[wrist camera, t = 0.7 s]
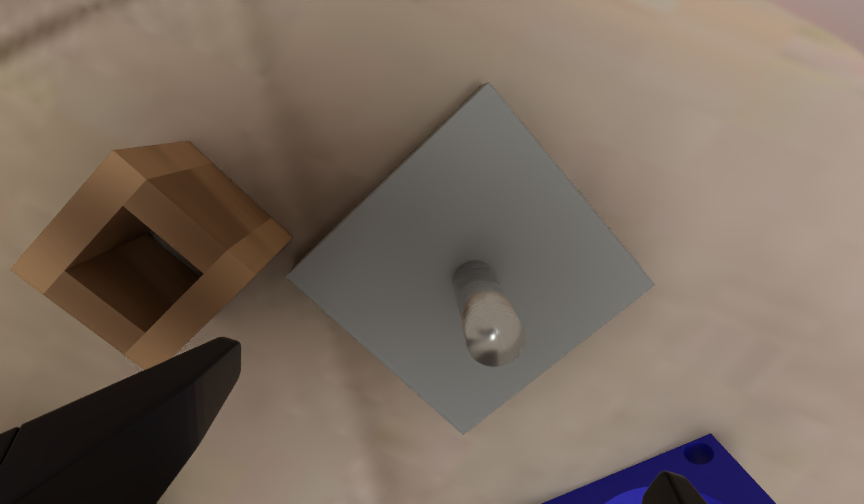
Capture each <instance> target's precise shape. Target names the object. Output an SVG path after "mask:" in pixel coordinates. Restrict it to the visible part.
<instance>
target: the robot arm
mask: <svg viewBox="0 0 864 504" xmlns="http://www.w3.org/2000/svg"><path fill="white" fill-rule="evenodd" d="M240 371H241V344H240V342H238V341H236V340H233V339H230V338H226V337H218V338H216V339H214V340H211V341H209V342H207V343H205V344H202V345H200V346H198V347H196V348H193V349H191V350H189V351H187V352H184V353H182V354H180V355H177V356H175V357H173V358H171V359H168V360H166V361H164V362H162V363H159V364H157V365H155V366H153V367H150V368H148V369H146V370H144V371H141V372H139V373H137V374H135V375H132V376H130V377H128V378H126V379H123V380H121V381H119V382H117V383H114V384H112V385H110V386H108V387H105V388H103V389H101V390H99V391H96V392H94V393H92V394H89V395H87V396H85V397H83V398H80V399H78V400H76V401H74V402H71V403H69V404H67V405H65V406H62V407H60V408H58V409H56V410H53V411H51V412H49V413H47V414H44V415H42V416H40V417H38V418H35V419H33V420H31V421H29V422H26V423H24V424H22V425H21V427H20V428H19V427H15V428H12V429H10V430H8V431H6V432H3V433H1V434H0V504H157V502H158V500H159V499H160V498H161V496H162V495H163V494H164V492H165V491H166V489H167V488H168V487H169V485H170V484H171V483H172V481H173V480H174V479H175V477H176V476H177V475H178V473H179V472H180V470H181V469H182V468H183V466H184V465H185V464H186V462H187V461H188V460H189V458H190V457H191V456H192V454H193V453H194V451H195V450H196V448H197V447H198V446H199V444H200V442H201V441H202V439H203V438H204V436H205V434H206V433H207V431H208V429H209V428H210V426H211V424H212V422H213V421H214V419H215V417H216V416H217V414H218V412H219V411H220V409H221V407H222V406H223V404H224V402H225V400H226V399H227V397H228V395H229V394H230V392H231V390H232V389H233V387H234V385H235V384H236V382H237V380H238V378H239V375H240ZM642 504H708V503H707V502H706V501H705V500H704V498H703V497H702V496H701V495H700V494H699V492H698V491H697V490H696V489H695V488H694V486H693V485H692V484H691V483H690V482H689V480H688V479H687V478H685V477H684V476H682V475H679V474H676V473H673V472H669V471H662V472H660V473H659V474H658V475H657V477H656V478H655V479H654V481H653V482H652V483H651V485H650V486H649V487H648V489H647V490H646V491H645V493H644V495H643V498H642Z"/></svg>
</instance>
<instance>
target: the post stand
mask: <svg viewBox="0 0 864 504" xmlns="http://www.w3.org/2000/svg"><path fill="white" fill-rule="evenodd" d="M286 278H287V279H288V280H289V281H291V282H292V283H293V284H294V285H295V286H296V287H297V288H298V289H300V290H301V291H302V292H303V293H304V294H305V295H306V296H307V297H309V298H310V299H311V300H312V301H313V302H314V303H315V304H316V305H318V306H319V307H320V308H321V309H322V310H323V311H324V312H325V313H327V314H328V315H329V316H330V317H331V318H332V319H333V320H335V321H336V322H337V323H338V324H339V325H340V326H341V327H342V328H344V329H345V330H346V331H347V332H348V333H349V334H350V335H351V336H353V337H354V338H355V339H356V340H357V341H358V342H359V343H360V344H362V345H363V346H364V347H365V348H366V349H367V350H368V351H369V352H371V353H372V354H373V355H374V356H375V357H376V358H377V359H378V360H380V361H381V362H382V363H383V364H384V365H385V366H386V367H387V368H389V369H390V370H391V371H392V372H393V373H394V374H395V375H396V376H398V377H399V378H400V379H401V380H402V381H403V382H404V383H405V384H407V385H408V386H409V387H410V388H411V389H412V390H413V391H414V392H416V393H417V394H418V395H419V396H420V397H421V398H422V399H423V400H425V401H426V402H427V403H428V404H429V405H430V406H431V407H432V408H434V409H435V410H436V411H437V412H438V413H439V414H440V415H441V416H443V417H444V418H445V419H446V420H447V421H448V422H449V423H450V424H452V425H453V426H454V427H455V428H456V429H457V430H458V431H459V432H461V433H462V434H463V435H464V434H465V433H466V432H468V431H469V430H470V429H471V428H473V427H474V426H475V425H476V424H478V423H479V422H480V421H482V420H483V419H484V418H485V417H487V416H488V415H489V414H491V413H492V412H493V411H494V410H496V409H497V408H498V407H500V406H501V405H502V404H503V403H505V402H506V401H507V400H508V399H510V398H511V397H512V396H514V395H515V394H516V393H517V392H519V391H520V390H521V389H523V388H524V387H525V386H526V385H528V384H529V383H530V382H532V381H533V380H534V379H535V378H537V377H538V376H539V375H540V374H542V373H543V372H544V371H546V370H547V369H548V368H549V367H551V366H552V365H553V364H555V363H556V362H557V361H558V360H560V359H561V358H562V357H564V356H565V355H566V354H567V353H569V352H570V351H571V350H572V349H574V348H575V347H576V346H578V345H579V344H580V343H581V342H583V341H584V340H585V339H587V338H588V337H589V336H590V335H592V334H593V333H594V332H596V331H597V330H598V329H599V328H601V327H602V326H603V325H604V324H606V323H607V322H608V321H610V320H611V319H612V318H613V317H615V316H616V315H617V314H619V313H620V312H621V311H622V310H624V309H625V308H626V307H628V306H629V305H630V304H631V303H633V302H634V301H635V300H636V299H638V298H639V297H640V296H642V295H643V294H644V293H645V292H647V291H648V290H649V289H651V288H652V287H653V286H654V285H655V284H654V283H653V282H652V280H651V279H650V278H649V277H648V276H647V274H646V273H645V272H644V271H643V269H642V268H641V267H640V266H639V265H638V263H637V262H636V261H635V260H634V259H633V257H632V256H631V255H630V254H629V252H628V251H627V250H626V249H625V248H624V246H623V245H622V244H621V243H620V241H619V240H618V239H617V238H616V237H615V235H614V234H613V233H612V232H611V230H610V229H609V228H608V227H607V226H606V224H605V223H604V222H603V221H602V219H601V218H600V217H599V216H598V215H597V213H596V212H595V211H594V210H593V209H592V207H591V206H590V205H589V204H588V202H587V201H586V200H585V199H584V198H583V196H582V195H581V194H580V193H579V191H578V190H577V189H576V188H575V187H574V185H573V184H572V183H571V182H570V180H569V179H568V178H567V177H566V176H565V174H564V173H563V172H562V171H561V170H560V168H559V167H558V166H557V165H556V163H555V162H554V161H553V160H552V159H551V157H550V156H549V155H548V154H547V152H546V151H545V150H544V149H543V148H542V146H541V145H540V144H539V143H538V141H537V140H536V139H535V138H534V137H533V135H532V134H531V133H530V132H529V131H528V129H527V128H526V127H525V126H524V124H523V123H522V122H521V121H520V120H519V118H518V117H517V116H516V115H515V113H514V112H513V111H512V110H511V109H510V107H509V106H508V105H507V104H506V102H505V101H504V100H503V99H502V98H501V96H500V95H499V94H498V93H497V92H496V90H495V89H494V88H493V87H492V85H491V84H490V83H489V82H488V83H486V84H483V85H482V86H481V87H480V88H479V89H478V90H477V91H476V92H475V93H474V94H473V95H472V96H471V97H470V98H469V99H468V100H466V101H465V102H464V103H463V104H462V105H461V106H460V107H459V108H458V109H457V110H456V111H455V112H454V113H453V114H452V115H451V116H450V117H449V118H448V119H447V120H446V121H445V122H444V123H443V124H442V125H440V126H439V127H438V128H437V129H436V130H435V131H434V132H433V133H432V134H431V135H430V136H429V137H428V138H427V139H426V140H425V141H424V142H423V143H422V144H421V145H420V146H419V147H418V148H417V149H416V150H414V151H413V152H412V153H411V154H410V155H409V156H408V157H407V158H406V159H405V160H404V161H403V162H402V163H401V164H400V165H399V166H398V167H397V168H396V169H395V170H394V171H393V172H392V173H391V174H389V175H388V176H387V177H386V178H385V179H384V180H383V181H382V182H381V183H380V184H379V185H378V186H377V187H376V188H375V189H374V190H373V191H372V192H371V193H370V194H369V195H368V196H367V197H366V198H365V199H363V200H362V201H361V202H360V203H359V204H358V205H357V206H356V207H355V208H354V209H353V210H352V211H351V212H350V213H349V214H348V215H347V216H346V217H345V218H344V219H343V220H342V221H341V222H340V223H338V224H337V225H336V226H335V227H334V228H333V229H332V230H331V231H330V232H329V233H328V234H327V235H326V236H325V237H324V238H323V239H322V240H321V241H320V242H319V243H318V244H317V245H316V246H315V247H314V248H312V249H311V250H310V251H309V252H308V253H307V254H306V255H305V256H304V257H303V258H302V259H301V260H300V261H299V262H298V263H297V264H296V265H295V266H294V267H293V268H292V270H291V271H290V272H289V273H288V275H287V276H286Z"/></svg>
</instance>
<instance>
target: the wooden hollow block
mask: <svg viewBox="0 0 864 504" xmlns="http://www.w3.org/2000/svg"><path fill="white" fill-rule="evenodd" d="M150 230H152V231H154V232H155V233H156V234H157V235H158V236H159V237H161V238H162V239H163V240H164V241H165V242H167V243H168V244H169V245H170V246H171V247H173V248H174V249H175V250H176V251H177V252H179V253H180V254H181V255H182V256H183V257H184V258H186V259H187V260H188V261H189V262H190V263H192V264H193V265H194V266H195V267H196V268H198V269H199V270H200V271H201V272H202V273H204V274H203V275H202V276H201V277H200V278H199V277H198V276H197V275H196V274H194V273H193V272H192V271H191V270H190V269H188V268H187V267H186V266H185V265H184V264H182V263H181V262H180V261H179V260H178V259H176V258H175V257H174V256H173V255H172V254H170V253H169V252H168V251H167V250H166V249H164V248H163V247H162V246H161V245H160V244H158V243H157V242H156V241H155V240H154V239H152V238H151V237H150V236H149V235H148V234H147V233H148V232H149V231H150ZM292 238H293V237H292V236H291V235H289V234H288V233H287V232H286V231H285V230H284V229H283V228H282V227H281V226H280V225H279V224H278V223H276V222H275V221H274V220H273V219H272V218H271V217H270V216H269V215H268V214H267V213H266V212H265V211H263V210H262V209H261V208H260V207H259V206H258V205H257V204H256V203H255V202H254V201H253V200H252V199H250V198H249V197H248V196H247V195H246V194H245V193H244V192H243V191H242V190H241V189H240V188H239V187H237V186H236V185H235V184H234V183H233V182H232V181H231V180H230V179H229V178H228V177H227V176H226V175H224V174H223V173H222V172H221V171H220V170H219V169H218V168H217V167H216V166H215V165H214V164H213V163H211V162H210V161H209V160H208V159H207V158H206V157H205V156H204V155H203V154H202V153H201V152H200V151H198V150H197V149H196V148H195V147H194V146H193V145H192V144H191V143H190V142H189V141H185V142H177V143H169V144H160V145H152V146H144V147H135V148H127V149H119V150H113V151H112V152H111V153H110V154H109V155H108V157H107V158H106V159H105V160H104V161H103V162H102V163H101V165H100V166H99V167H98V168H97V169H96V170H95V172H94V173H93V174H92V175H91V176H90V177H89V178H88V180H87V181H86V182H85V183H84V184H83V185H82V187H81V188H80V189H79V190H78V191H77V192H76V193H75V195H74V196H73V197H72V198H71V199H70V200H69V202H68V203H67V204H66V205H65V206H64V207H63V208H62V210H61V211H60V212H59V213H58V214H57V215H56V217H55V218H54V219H53V220H52V221H51V222H50V224H49V225H48V226H47V227H46V228H45V229H44V230H43V232H42V233H41V234H40V235H39V236H38V237H37V239H36V240H35V241H34V242H33V243H32V244H31V245H30V247H29V248H28V249H27V250H26V251H25V252H24V254H23V255H22V256H21V257H20V258H19V259H18V260H17V262H16V263H15V264H14V265H13V266H12V267H11V269H10V270H11V271H12V272H13V273H15V274H16V275H18V276H19V277H20V278H22V279H23V280H24V281H26V282H27V283H28V284H30V285H31V286H32V287H34V288H35V289H36V290H38V291H39V292H40V293H42V294H43V295H45V296H46V297H47V298H49V299H50V300H51V301H53V302H54V303H55V304H57V305H58V306H59V307H61V308H62V309H63V310H65V311H66V312H67V313H69V314H70V315H71V316H73V317H74V318H76V319H77V320H78V321H80V322H81V323H82V324H84V325H85V326H86V327H88V328H89V329H90V330H92V331H93V332H94V333H96V334H97V335H98V336H100V337H101V338H103V339H104V340H105V341H107V342H108V343H109V344H111V345H112V346H113V347H115V348H116V349H117V350H119V351H120V352H121V353H123V354H124V355H125V356H127V357H128V358H130V359H131V360H132V361H134V362H135V363H136V364H138V365H139V366H140V367H142V368H143V369H144V370H146V369H148V368H150V367H153V366H155V365H157V364H159V363H162V362H164V361H166V360H168V359H171V358H172V357H173V356H174V355H175V354H176V353H177V352H178V351H179V350H180V349H181V348H182V347H183V346H184V345H185V344H186V343H187V342H188V341H189V340H190V339H191V338H192V337H193V336H194V335H195V334H196V333H197V332H198V331H199V330H200V329H201V328H202V327H203V326H204V325H205V324H206V323H207V322H208V321H209V320H211V319H212V318H213V317H214V316H215V315H216V314H217V313H218V312H219V311H220V310H221V309H222V308H223V307H224V306H225V305H226V304H227V303H228V302H229V301H230V300H231V299H232V298H233V297H234V296H235V295H236V294H237V293H238V292H239V291H240V290H241V289H242V288H243V287H244V286H245V285H246V284H247V283H248V282H249V281H250V280H251V279H252V278H253V277H254V276H256V275H257V273H258V272H259V271H260V270H261V269H262V268H263V267H264V266H265V265H266V264H267V263H268V262H269V261H270V260H271V259H272V258H273V257H274V256H275V255H276V254H277V253H278V252H279V251H280V250H281V249H282V248H283V247H284V246H285V245H286V244H287V243H288V242H289V241H290V240H291V239H292Z"/></svg>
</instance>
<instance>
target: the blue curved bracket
mask: <svg viewBox="0 0 864 504" xmlns="http://www.w3.org/2000/svg"><path fill="white" fill-rule="evenodd" d="M662 471H669V472H673V473H676V474H679V475H682V476H684V477H685V478H687V479H688V480H689V482H690V483H691V484H692V485H693V486H694V488H695V489H696V490H697V491H698V492H699V494H700V495H701V496H702V497H703V498H704V500H705V501H706V502H707V503H708V504H776V503H775V502H774V501H773V500H772V499H771V498H770V497H769V495H768V494H767V493H766V492H765V491H764V490H763V489H762V488H761V487H760V486H759V485H758V484H757V483H756V482H755V480H754V479H753V478H752V477H751V476H750V475H749V474H748V473H747V472H746V471H745V470H744V469H743V468H742V466H741V465H740V464H739V463H738V462H737V461H736V460H735V459H734V458H733V457H732V456H731V455H730V454H729V453H728V451H727V450H726V449H725V448H724V447H723V446H722V445H721V444H720V443H719V442H718V441H717V440H716V439H715V437H714V436H713V435H712V434H708V435H706V436H704V437H701V438H699V439H696V440H694V441H692V442H689V443H687V444H684V445H682V446H680V447H677V448H675V449H672V450H670V451H667V452H665V453H663V454H660V455H658V456H655V457H653V458H651V459H648V460H646V461H643V462H641V463H638V464H636V465H634V466H631V467H629V468H626V469H624V470H622V471H619V472H617V473H614V474H612V475H610V476H607V477H605V478H602V479H600V480H597V481H595V482H593V483H590V484H588V485H585V486H583V487H581V488H578V489H576V490H573V491H571V492H569V493H566V494H564V495H561V496H559V497H556V498H554V499H552V500H549V501H547V502H544V503H542V504H642V498H643V495H644V493H645V491H646V490H647V489H648V487H649V486H650V485H651V483H652V482H653V481H654V479H655V478H656V477H657V475H658V474H659V473H660V472H662Z"/></svg>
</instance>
